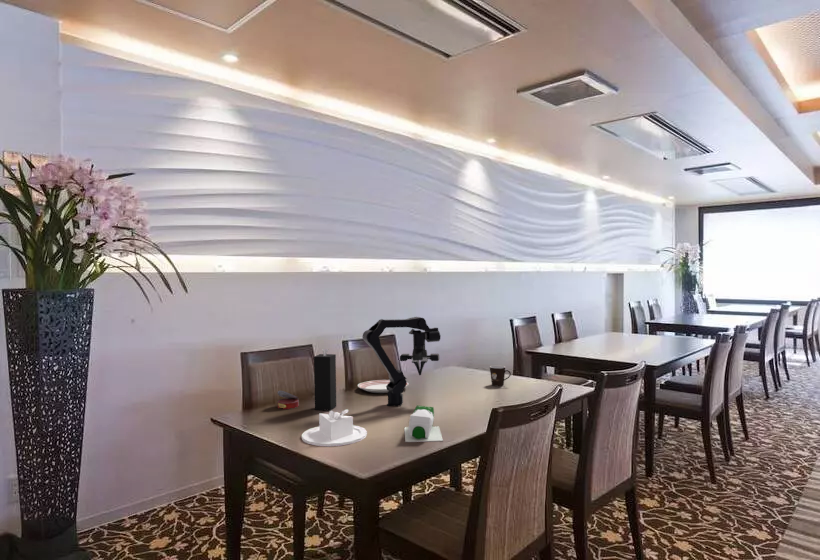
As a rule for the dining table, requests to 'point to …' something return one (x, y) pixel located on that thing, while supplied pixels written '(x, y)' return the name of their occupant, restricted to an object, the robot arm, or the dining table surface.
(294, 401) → the canned food
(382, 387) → the dinner plate
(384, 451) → the dining table surface
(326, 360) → the tall black box
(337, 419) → the dish
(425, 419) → the milk carton
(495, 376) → the coffee mug
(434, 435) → the placemat
